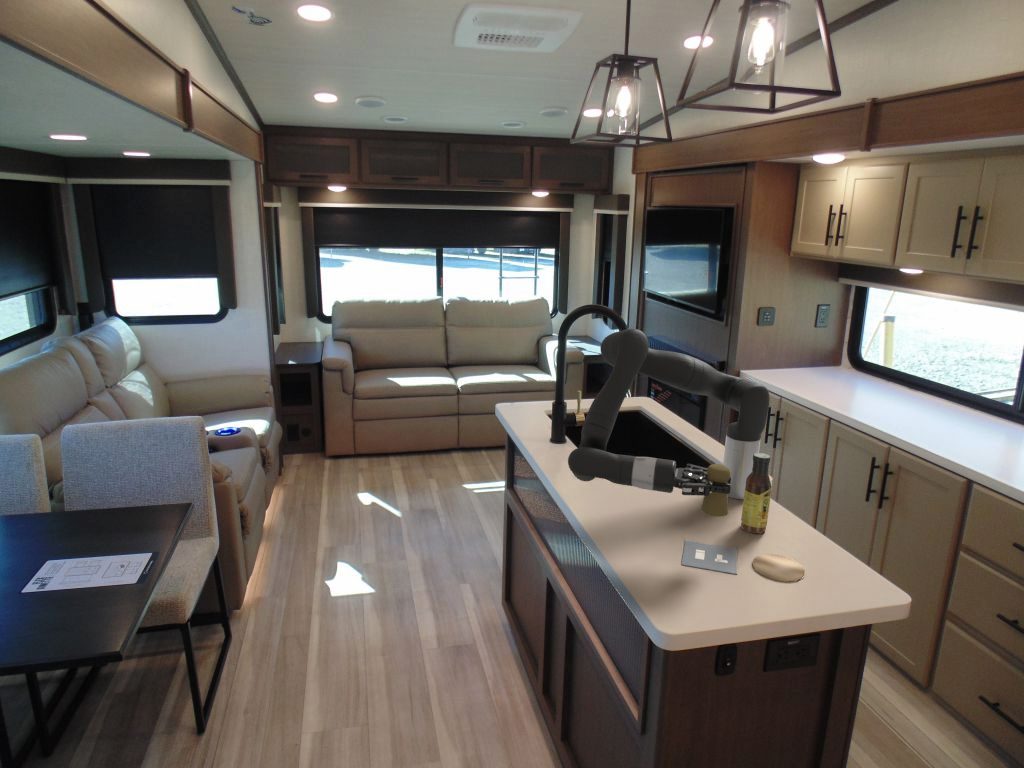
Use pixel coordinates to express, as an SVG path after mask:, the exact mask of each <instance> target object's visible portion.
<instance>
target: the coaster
mask: <svg viewBox="0 0 1024 768" xmlns="http://www.w3.org/2000/svg"><path fill="white" fill-rule="evenodd" d="M752 559H753V560H752V567H753V569H754V570H755V572H757V573H758V572H759V573H758V574H760V575H761V576H763V577H765V576H766V578H768V579H769V580H770V579H771V580H773V581H779V582H785V581H786V582H787V583H788V582H789V581H793V582H797V581H796V580H798V581H800V580H802V579H803V578H804V577H805V568H804V566H803V565H801V563H799V562H797V560H795V559H792V558H790V557H787V556H784V555H779V554H773V553H769V554H768V553H765V554H759V555H757V556H755V557H754V558H752ZM803 576H804V577H803ZM802 577H803V578H802ZM801 578H802V579H801ZM799 579H800V580H799ZM786 582H785V583H786ZM789 583H790V582H789Z"/></svg>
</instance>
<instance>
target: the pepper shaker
mask: <svg viewBox="0 0 1024 768" xmlns="http://www.w3.org/2000/svg"><path fill="white" fill-rule="evenodd" d="M707 468H708V469H707V477H708V478H709V479H708V480H709V481H712V482H713V483H714V482H720V483H727V481H728V480H729V479H730V476H731V472H730V469H729V468H728V467H727V466H725V465H723V463H722V464H721V463H712V464H710V465H708V467H707ZM728 500H729V497H728V494H724V493H718V492H713V491H712V493H709V495H708V496H703V499H702V502H701V506H700V510H701V511H702V513H703V514H705V515H708V516H711V517H716V518H717V517H724V516H727V515H729V501H728Z"/></svg>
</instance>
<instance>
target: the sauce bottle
mask: <svg viewBox="0 0 1024 768" xmlns="http://www.w3.org/2000/svg"><path fill="white" fill-rule="evenodd" d="M770 462H771V455H769V454H767V453H764V452H759V453H755V454H754V455H753V468H752V472H751V473H750V475H749V476H748V477H747V479H746V487H745V491H744V499H742V500H743V501H742V512H741V518H740V522H741V523H740V526H741V529H742V530H744V531H745V532H748V533H752V534H762V533H765V532H766V530H767V526H768V518H769V511H770V502H771V495H772V488H773V487H772V483H771V480H770V475H769V466H770Z"/></svg>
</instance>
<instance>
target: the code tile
mask: <svg viewBox="0 0 1024 768" xmlns="http://www.w3.org/2000/svg"><path fill="white" fill-rule="evenodd" d="M737 552H738V550H737V548H732V547H729V546H722V545H721V546H720V545H715V544H709V543H704V542H703V543H701V542H697V541H696V542H695V541H691V540H684V547H683V552H682V558H681V566H684V567H690V568H696V569H704V570H709V571H713V572H720V573H724V574H731V575H737V569H738V567H737V565H738V563H737V562H738V561H737V560H738V558H737V557H738V555H737Z"/></svg>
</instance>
